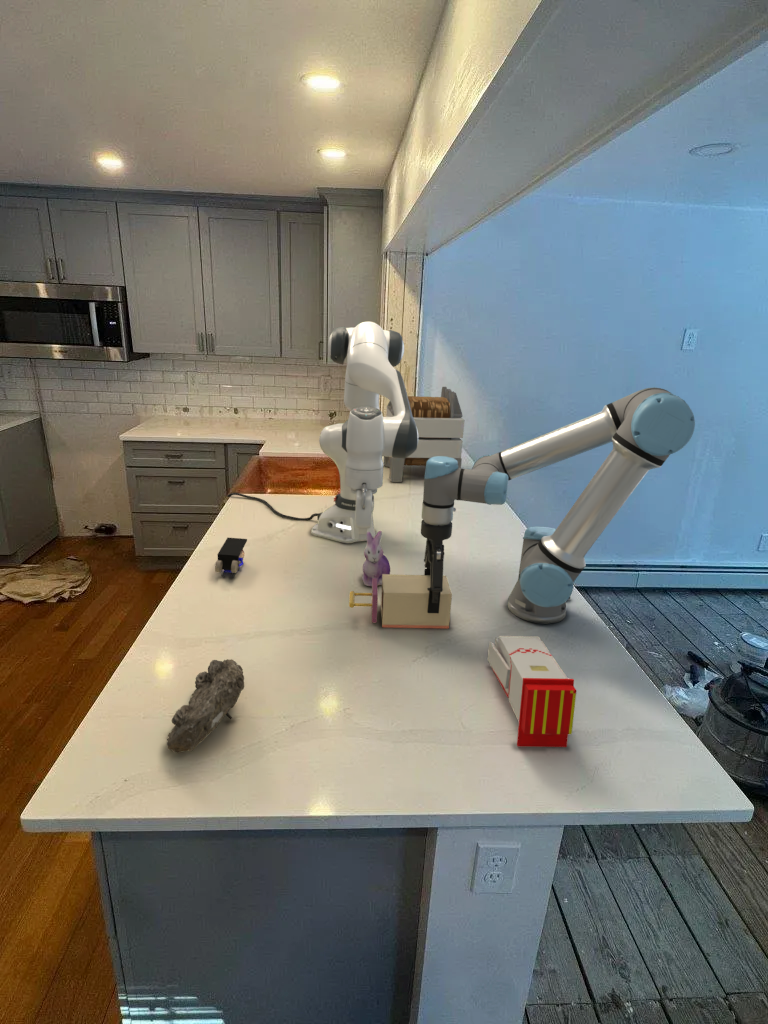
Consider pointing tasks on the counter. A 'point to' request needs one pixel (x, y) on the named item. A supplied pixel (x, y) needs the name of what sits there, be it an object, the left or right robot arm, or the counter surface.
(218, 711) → the fossil
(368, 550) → the figurine
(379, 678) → the counter surface
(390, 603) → the beige drawer cabinet
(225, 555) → the figurine character
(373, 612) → the drawer
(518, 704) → the toy
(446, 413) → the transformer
